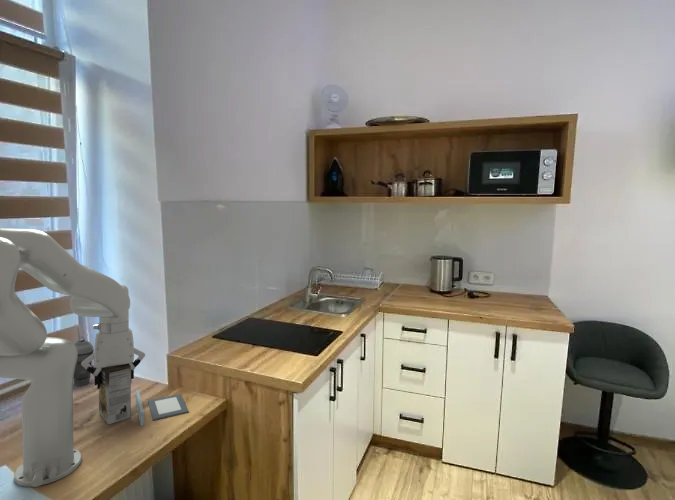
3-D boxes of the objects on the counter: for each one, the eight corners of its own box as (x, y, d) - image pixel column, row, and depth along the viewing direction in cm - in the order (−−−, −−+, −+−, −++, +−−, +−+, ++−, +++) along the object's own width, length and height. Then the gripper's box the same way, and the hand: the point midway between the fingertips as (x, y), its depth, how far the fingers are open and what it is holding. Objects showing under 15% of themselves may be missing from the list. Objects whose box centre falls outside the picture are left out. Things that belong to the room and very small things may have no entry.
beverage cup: (85, 388, 129) (84, 332, 128) (64, 387, 129) (63, 331, 128) (98, 379, 136) (98, 326, 135) (79, 378, 137) (78, 325, 135)
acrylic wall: (143, 425, 108) (143, 412, 108) (140, 426, 108) (140, 412, 107) (138, 401, 121) (138, 389, 121) (135, 402, 121) (135, 390, 121)
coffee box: (98, 413, 113) (97, 362, 112) (121, 406, 118) (121, 356, 117) (107, 425, 107) (107, 371, 106) (131, 417, 112) (131, 365, 111)
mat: (188, 412, 116) (188, 410, 116) (153, 420, 111) (153, 418, 111) (180, 395, 127) (180, 393, 127) (148, 401, 122) (148, 400, 122)
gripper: (78, 333, 103) (78, 395, 104) (148, 326, 112) (148, 383, 114) (79, 326, 109) (79, 385, 110) (145, 320, 118) (145, 374, 120)
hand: (114, 383), depth 112 cm, fingers closed on coffee box, 7 cm apart
